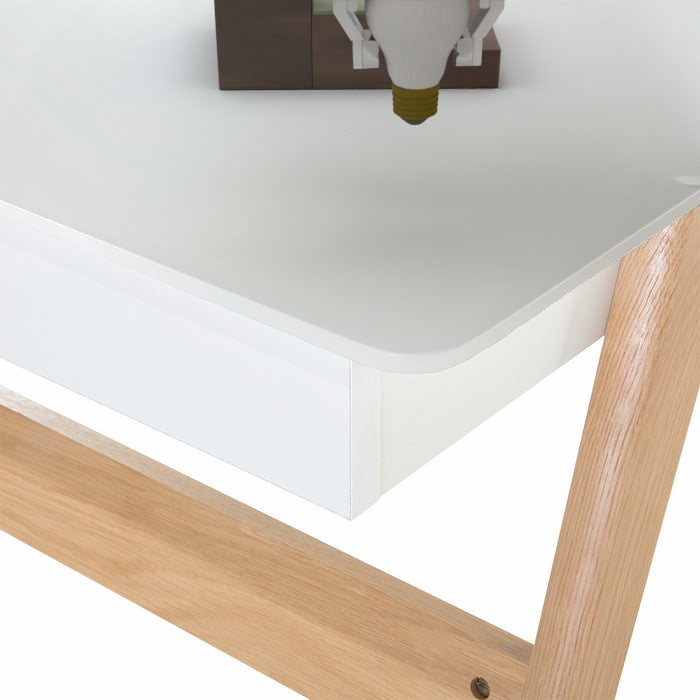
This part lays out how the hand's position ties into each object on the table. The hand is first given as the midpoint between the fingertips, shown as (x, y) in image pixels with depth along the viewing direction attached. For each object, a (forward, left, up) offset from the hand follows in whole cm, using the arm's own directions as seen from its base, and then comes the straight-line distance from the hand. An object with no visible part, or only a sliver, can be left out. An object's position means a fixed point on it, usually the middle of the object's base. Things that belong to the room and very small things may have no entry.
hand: (415, 64), depth 71 cm
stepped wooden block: (+3, -27, -10) cm, 29 cm away
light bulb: (0, 0, -4) cm, 4 cm away
